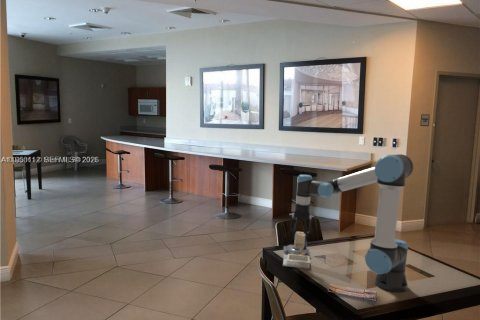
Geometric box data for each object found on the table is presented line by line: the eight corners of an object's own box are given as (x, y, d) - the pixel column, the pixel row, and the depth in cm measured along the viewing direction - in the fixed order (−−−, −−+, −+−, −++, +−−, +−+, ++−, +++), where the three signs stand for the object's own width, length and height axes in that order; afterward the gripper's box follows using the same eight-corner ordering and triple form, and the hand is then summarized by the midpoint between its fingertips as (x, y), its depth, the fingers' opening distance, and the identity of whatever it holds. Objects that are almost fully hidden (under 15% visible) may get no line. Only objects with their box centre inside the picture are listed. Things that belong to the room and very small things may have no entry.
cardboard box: (302, 248, 205) (304, 235, 204) (295, 247, 205) (296, 234, 204) (302, 244, 212) (303, 231, 211) (295, 243, 212) (296, 231, 211)
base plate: (309, 268, 202) (309, 263, 202) (282, 265, 204) (283, 260, 204) (307, 250, 232) (308, 245, 231) (284, 247, 234) (285, 243, 233)
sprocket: (314, 256, 219) (315, 244, 218) (290, 257, 214) (291, 245, 213) (301, 247, 234) (302, 235, 233) (278, 248, 228) (279, 237, 228)
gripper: (318, 203, 208) (314, 245, 210) (287, 200, 210) (283, 241, 213) (319, 206, 201) (315, 249, 203) (286, 203, 203) (283, 246, 205)
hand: (299, 245), depth 208 cm, fingers closed on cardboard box, 4 cm apart
